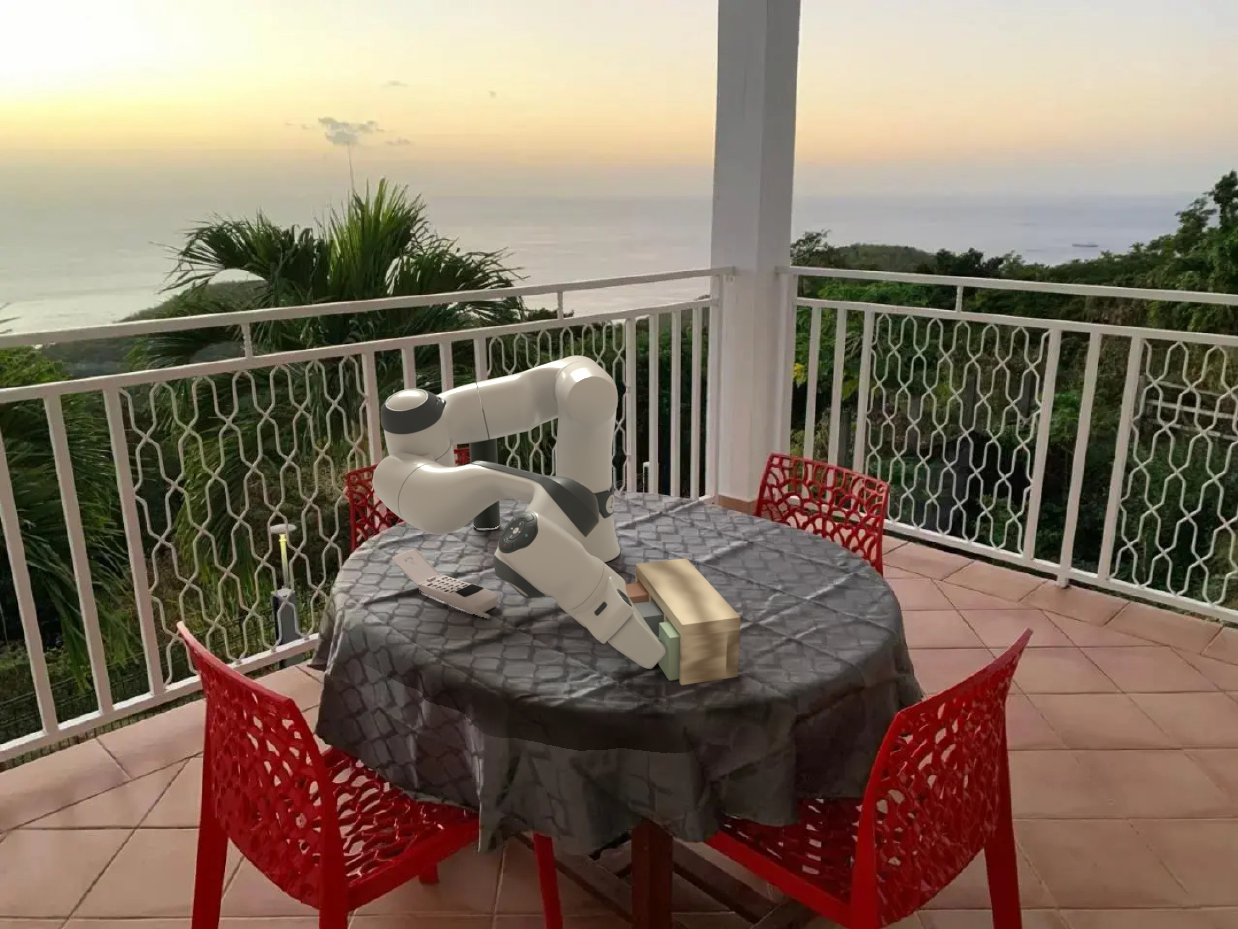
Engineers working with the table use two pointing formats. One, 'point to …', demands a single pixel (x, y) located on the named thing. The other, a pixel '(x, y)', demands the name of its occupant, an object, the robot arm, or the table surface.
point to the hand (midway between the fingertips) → (659, 648)
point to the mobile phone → (445, 585)
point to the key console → (694, 619)
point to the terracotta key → (637, 592)
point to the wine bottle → (489, 454)
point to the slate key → (651, 615)
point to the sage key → (670, 650)
